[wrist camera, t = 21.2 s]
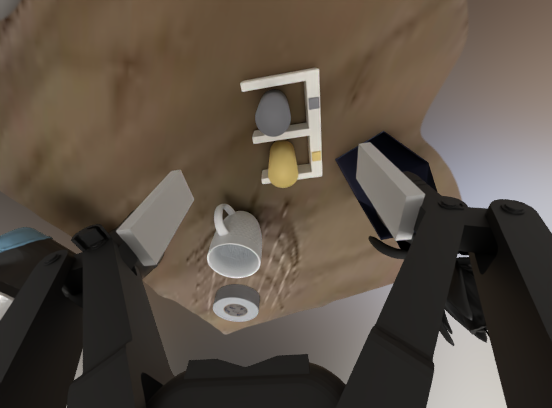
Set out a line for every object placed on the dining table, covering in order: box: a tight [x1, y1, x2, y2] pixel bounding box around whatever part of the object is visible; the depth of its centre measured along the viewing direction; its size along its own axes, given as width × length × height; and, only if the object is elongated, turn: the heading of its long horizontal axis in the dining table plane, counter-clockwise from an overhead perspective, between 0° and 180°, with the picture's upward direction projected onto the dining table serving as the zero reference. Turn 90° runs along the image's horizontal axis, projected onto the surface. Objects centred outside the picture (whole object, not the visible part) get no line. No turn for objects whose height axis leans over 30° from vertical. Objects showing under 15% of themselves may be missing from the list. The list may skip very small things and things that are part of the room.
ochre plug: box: [268, 140, 298, 188], centre depth 38 cm, size 5×5×10 cm
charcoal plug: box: [255, 89, 291, 137], centre depth 33 cm, size 5×5×10 cm
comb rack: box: [240, 68, 322, 184], centre depth 38 cm, size 12×18×5 cm, turn 9°
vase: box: [335, 131, 489, 346], centre depth 30 cm, size 14×12×35 cm
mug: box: [207, 204, 262, 278], centre depth 47 cm, size 15×11×13 cm
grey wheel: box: [213, 284, 260, 322], centre depth 72 cm, size 15×15×5 cm
